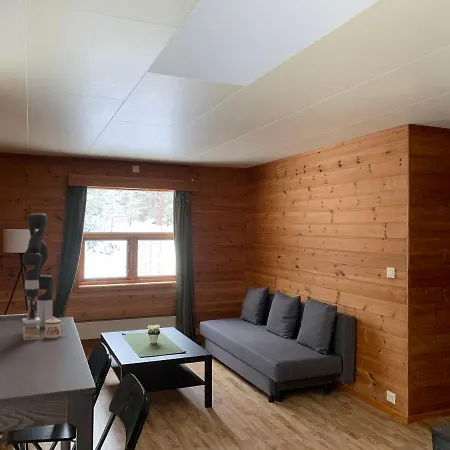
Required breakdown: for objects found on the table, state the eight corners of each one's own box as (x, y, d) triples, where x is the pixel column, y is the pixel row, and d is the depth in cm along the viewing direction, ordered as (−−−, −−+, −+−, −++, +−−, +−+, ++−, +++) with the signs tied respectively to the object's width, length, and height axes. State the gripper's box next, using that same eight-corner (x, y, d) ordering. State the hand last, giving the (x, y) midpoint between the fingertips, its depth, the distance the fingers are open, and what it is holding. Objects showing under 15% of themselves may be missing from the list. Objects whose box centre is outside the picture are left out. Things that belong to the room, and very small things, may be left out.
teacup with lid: (44, 338, 268) (44, 318, 268) (44, 335, 277) (44, 315, 277) (66, 337, 273) (66, 317, 273) (65, 334, 281) (66, 314, 281)
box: (22, 337, 271) (22, 327, 271) (37, 336, 275) (37, 325, 275) (24, 340, 264) (24, 329, 264) (39, 338, 268) (39, 328, 268)
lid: (22, 322, 271) (22, 309, 271) (38, 320, 276) (38, 308, 276) (24, 324, 264) (24, 312, 264) (40, 323, 268) (40, 310, 268)
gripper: (23, 286, 274) (22, 316, 274) (26, 289, 262) (26, 320, 262) (36, 286, 278) (36, 315, 278) (40, 288, 266) (40, 318, 266)
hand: (31, 317), depth 270 cm, fingers closed on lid, 4 cm apart
